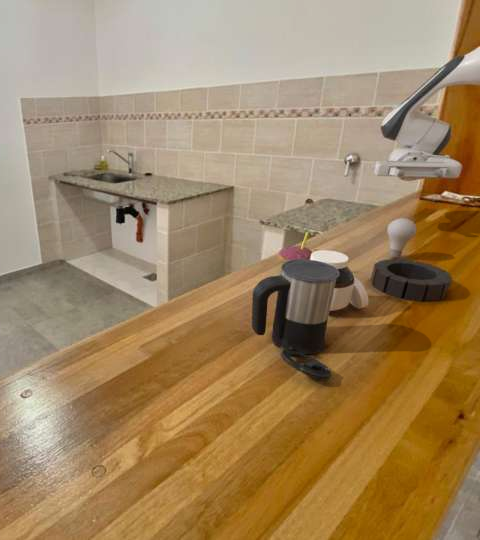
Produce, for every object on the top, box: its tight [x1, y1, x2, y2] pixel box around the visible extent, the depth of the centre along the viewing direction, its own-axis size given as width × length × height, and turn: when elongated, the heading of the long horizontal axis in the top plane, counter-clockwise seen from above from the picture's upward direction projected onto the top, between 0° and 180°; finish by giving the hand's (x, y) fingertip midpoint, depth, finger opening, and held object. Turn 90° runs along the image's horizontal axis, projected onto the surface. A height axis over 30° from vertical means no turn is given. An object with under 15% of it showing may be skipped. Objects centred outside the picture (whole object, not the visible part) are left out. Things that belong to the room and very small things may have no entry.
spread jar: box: [310, 249, 369, 315], centre depth 80 cm, size 12×11×12 cm
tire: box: [370, 258, 453, 303], centre depth 87 cm, size 14×14×4 cm
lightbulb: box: [386, 217, 417, 259], centre depth 100 cm, size 6×6×11 cm
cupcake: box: [277, 229, 314, 265], centre depth 95 cm, size 9×8×12 cm
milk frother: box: [251, 259, 339, 381], centre depth 65 cm, size 14×16×15 cm
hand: (420, 174), depth 105 cm, fingers open, 8 cm apart
